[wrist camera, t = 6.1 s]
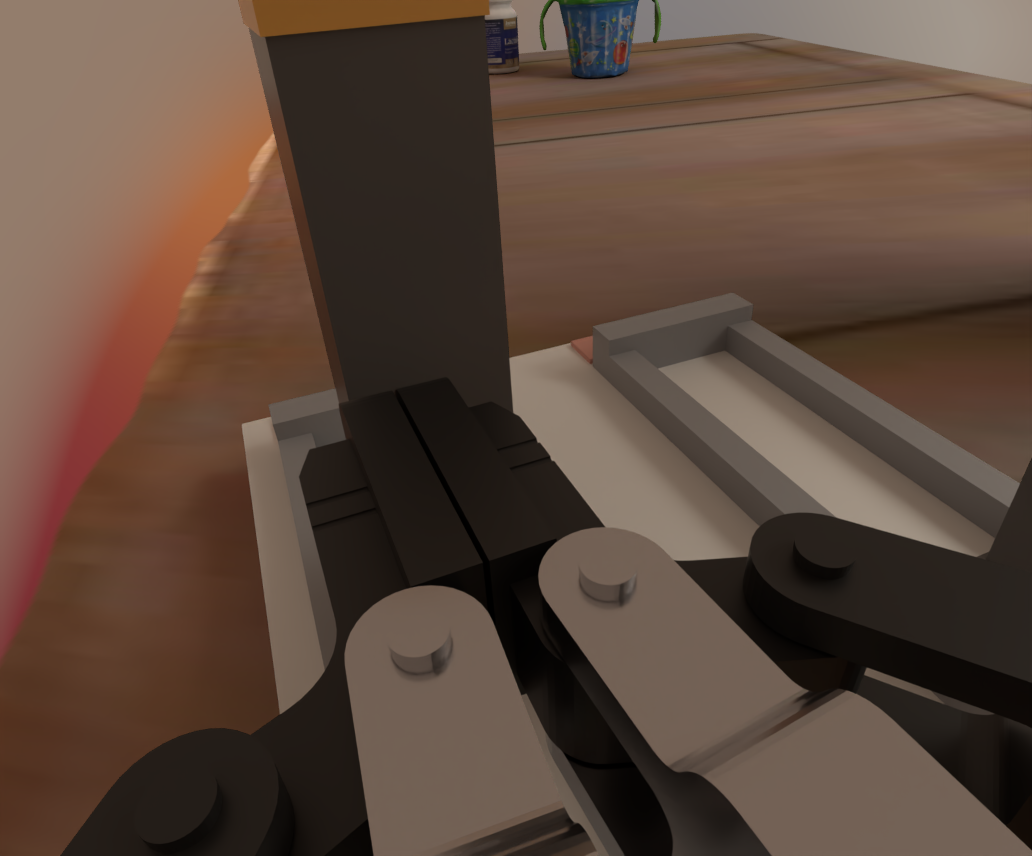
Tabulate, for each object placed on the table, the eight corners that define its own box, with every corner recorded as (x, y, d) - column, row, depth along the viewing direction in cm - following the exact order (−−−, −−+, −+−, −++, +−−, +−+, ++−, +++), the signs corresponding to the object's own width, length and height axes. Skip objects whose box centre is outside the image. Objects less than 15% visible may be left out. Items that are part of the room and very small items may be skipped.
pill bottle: (514, 74, 98) (509, -9, 93) (475, 75, 100) (469, -7, 94) (523, 68, 103) (520, -12, 97) (486, 69, 104) (481, -9, 99)
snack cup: (535, 83, 91) (532, -9, 85) (547, 71, 99) (545, -14, 93) (657, 79, 88) (662, -16, 82) (659, 66, 96) (663, -21, 91)
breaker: (374, 589, 16) (208, -72, 9) (493, 550, 17) (425, -84, 10) (406, 691, 14) (217, -87, 7) (541, 640, 15) (498, -100, 8)
